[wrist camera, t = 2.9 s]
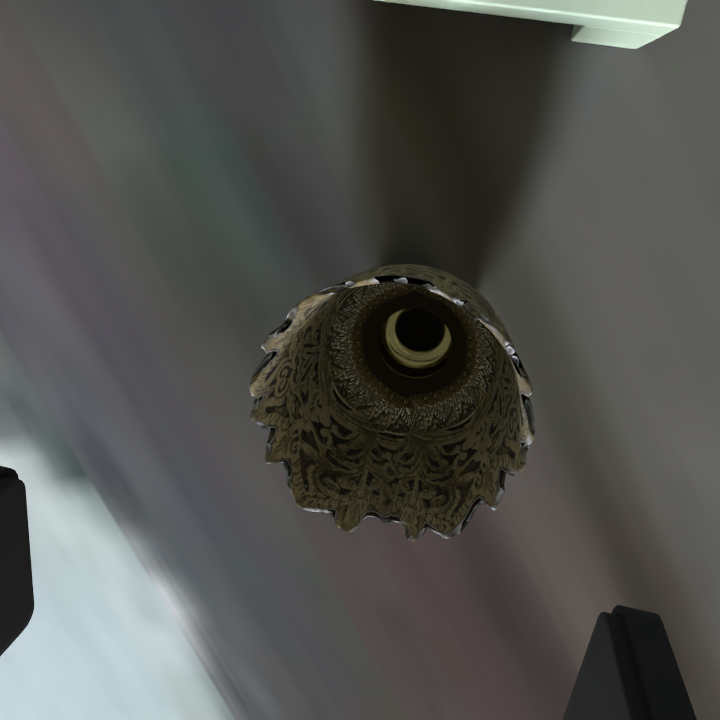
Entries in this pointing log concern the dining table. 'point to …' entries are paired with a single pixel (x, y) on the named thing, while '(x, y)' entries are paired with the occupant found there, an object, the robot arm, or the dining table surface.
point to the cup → (394, 403)
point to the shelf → (583, 16)
